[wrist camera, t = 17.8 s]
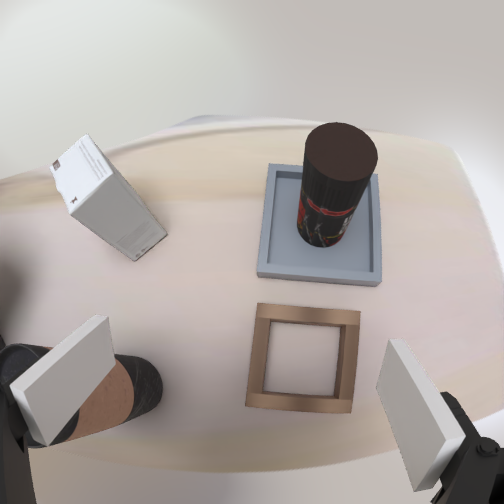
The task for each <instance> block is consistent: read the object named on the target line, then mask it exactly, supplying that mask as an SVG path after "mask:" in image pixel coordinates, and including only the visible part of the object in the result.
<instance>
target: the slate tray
mask: <svg viewBox="0 0 504 504" xmlns="http://www.w3.org/2000/svg"><path fill="white" fill-rule="evenodd" d="M302 172H303V166H298V165H285V164H270V163H269V167H268V176H267V185H266V194H265V203H264V212H263V221H262V230H261V239H260V247H259V256H258V265H257V275H258V277H263V278H274V279H285V280H297V281H309V282H321V283H333V284H346V285H359V286H372V287H376V286H377V285H378V284H379V283H381V282H382V247H381V218H380V200H379V186H378V174H372V176H371V178H370V180H369V183H368V185H367V187H366V189H365V191H364V193H363V196H362V198H361V200H360V202H359V204H358V206H357V208H356V210H355V212H354V215H353V217H352V219H351V221H350V223H349V225H348V227H347V229H346V231H345V233H344V235H343V237H342V238H341V240H340V241H339V242H337V243H336V244H335V245H333V246H330V247H325V248H320V247H315V246H312V245H310V244H308V243H307V242H305V241H304V240H303V238H302V237H301V236H300V234H299V232H298V229H297V217H298V208H299V199H300V191H301V181H302Z"/></svg>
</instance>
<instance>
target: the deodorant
mask: <svg viewBox="0 0 504 504" xmlns="http://www.w3.org/2000/svg"><path fill="white" fill-rule="evenodd" d="M377 160H378V155H377V149H376V147H375V145H374V143H373V141H372V140H371V139H370V137H369V136H368V135H367V134H365V133H364V132H363V131H362V130H360V129H358V128H356V127H355V126H352V125H349V124H346V123H338V122H334V123H326V124H323V125H320V126H318V127H317V128H315V129H314V130H312V132H311V133H310V134H309V135H308V137H307V140H306V142H305V153H304V162H303V172H302V181H301V191H300V199H299V208H298V217H297V229H298V232H299V234H300V236H301V237H302V238H303V240H304V241H305V242H307V243H308V244H310V245H312V246H315V247H320V248H325V247H330V246H333V245H335V244H336V243H337V242H339V241H340V240H341V238H342V237H343V235H344V233H345V231H346V229H347V227H348V225H349V223H350V221H351V219H352V217H353V215H354V212H355V210H356V208H357V206H358V204H359V202H360V200H361V198H362V196H363V193H364V191H365V189H366V187H367V185H368V183H369V180H370V178H371V176H372V174H373V172H374V169H375V167H376V164H377Z"/></svg>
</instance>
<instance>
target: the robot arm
mask: <svg viewBox="0 0 504 504" xmlns="http://www.w3.org/2000/svg"><path fill="white" fill-rule="evenodd" d="M4 348H5V344H4V342H3V339H2V337H1V336H0V352H1V350H2V349H4ZM115 365H116V362H115V357H114V351H113V345H112V339H111V333H110V326H109V319H108V316H102V315H96V314H95V315H94V316H93V317H92V318H90V319H89V320H88V321H86V322H85V323H84V324H83V325H81V326H80V327H79V328H78V329H76V330H75V331H74V332H73V333H71V334H70V335H69V336H68V337H66V338H65V339H64V340H63V341H62V342H60V343H59V344H58V345H57V346H55V347H54V348H53V349H52V350H51V351H49V352H48V353H47V354H46V355H42V356H40V357H38V358H35V359H33V360H32V361H31V362H30V363H29V364H27V366H25V367H24V368H23V369H21V371H19V372H18V373H17V374H15V375H14V376H13V377H12V378H11V379H9V380H8V381H7V382H6V383H5V384H3V385H2V383H1V380H0V504H37V503H36V498H35V493H34V488H33V482H32V476H31V469H30V462H29V454H28V445H27V439H26V436H25V433H26V432H27V431H28V430H29V431H30V433H31V435H32V437H33V439H34V440H35V441H37V442H39V443H41V444H43V445H45V446H47V447H48V446H49V445H50V443H51V442H52V441H53V440H54V438H55V437H56V436H57V435H58V433H59V432H60V431H61V430H62V429H63V427H64V426H65V425H66V424H67V422H68V421H69V420H70V419H71V417H72V416H73V415H74V414H75V413H76V411H77V410H78V409H79V408H80V406H81V405H82V404H83V403H84V402H85V400H86V399H87V398H88V397H89V396H90V394H91V393H92V392H93V391H94V390H95V388H96V387H97V386H98V385H99V384H100V382H101V381H102V380H103V379H104V378H105V376H106V375H107V374H108V373H109V372H110V370H111V369H112V368H113V367H114V366H115ZM376 389H377V391H378V394H379V396H380V399H381V401H382V404H383V407H384V409H385V412H386V414H387V417H388V420H389V422H390V425H391V428H392V430H393V433H394V436H395V439H396V441H397V444H398V447H399V450H400V453H401V455H402V458H403V461H404V464H405V467H406V470H407V473H408V476H409V479H410V482H411V485H412V488H413V491H414V492H417V491H421V490H426V489H431V488H433V487H434V485H435V484H436V482H437V481H438V479H439V478H440V480H441V483H442V487H441V489H440V490H439V491H438V493H437V494H436V495H435V497H434V498H433V499H432V500H431V503H432V504H504V448H500V446H499V444H498V443H497V442H495V441H494V440H492V439H490V438H487V437H481V436H480V435H479V433H478V432H477V430H476V429H475V427H474V425H473V424H472V422H471V421H470V419H469V418H468V416H467V415H465V414H466V413H465V411H464V410H463V408H461V405H460V404H459V402H458V401H457V399H456V398H455V397H453V396H452V395H451V394H449V393H448V392H441V393H439V391H438V390H437V388H436V386H435V385H434V383H433V382H432V380H431V379H430V377H429V376H428V374H427V373H426V371H425V370H424V368H423V367H422V365H421V364H420V362H419V361H418V359H417V358H416V356H415V355H414V353H413V352H412V350H411V349H410V347H409V346H408V344H407V343H406V341H405V340H404V339H389V341H388V345H387V349H386V353H385V357H384V361H383V365H382V368H381V372H380V376H379V379H378V383H377V386H376Z"/></svg>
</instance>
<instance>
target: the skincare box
mask: <svg viewBox="0 0 504 504" xmlns="http://www.w3.org/2000/svg"><path fill="white" fill-rule="evenodd" d="M50 171H51V173H52V175H53V177H54V179H55V182H56V188H57V190H58V191H59V192H60V193H61V195H62V197H63V199H64V201H65V204H66V207H67V210H68V212H69V214H70V215H71V216H72V217H74V218H75V219H76V220H78V221H79V222H80V223H82V224H83V225H84V226H86V227H87V228H88V229H90V230H91V231H92V232H94V233H95V234H96V235H98V236H99V237H101V238H102V239H103V240H105V241H106V242H107V243H109V244H110V245H112V246H113V247H114V248H116V249H117V250H119V251H120V252H122V253H123V254H125V255H126V256H127V257H129V258H130V259H132V260H133V261H136V260H137V259H138V258H139V257H141V256H142V255H143V254H144V253H145V252H146V251H147V250H149V249H150V248H151V247H152V246H154V245H155V244H156V243H158V242H159V241H160V240H161V239H162V238H164V237H165V236H166V235H167V232H166V231H165V230H164V229H163V228H162V227H161V225H160V224H159V223H158V222H157V221H156V219H155V218H154V217H153V215H152V214H151V213H150V211H149V210H148V208H147V207H146V206H145V204H144V203H143V201H142V199H141V198H140V196H139V195H138V194H137V192H136V191H135V190H134V189H133V188H132V187H131V185H130V184H129V183H128V182H127V181H126V180H125V178H124V177H123V176H122V175H121V174H120V172H119V171H118V170H117V169H116V168H115V167H114V165H113V164H112V163H111V162H110V161H109V159H108V158H107V157H106V156H105V155H104V154H103V153H102V152H101V150H100V149H99V148H98V146H97V145H96V144H95V143H94V142H93V141H92V139H91V138H90V136H89V135H88V134H86V135H84V136H83V137H82V138H80V139H79V140H78V141H77V142H76V143H75V144H74V145H73V146H71V147H70V148H69V149H68V150H67V151H66V152H65V153H64V154H63V155H62V156H61V157H59V158H58V159H57V160H56V161H55V162H54V163H53V164H52V165H51V166H50Z"/></svg>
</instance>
